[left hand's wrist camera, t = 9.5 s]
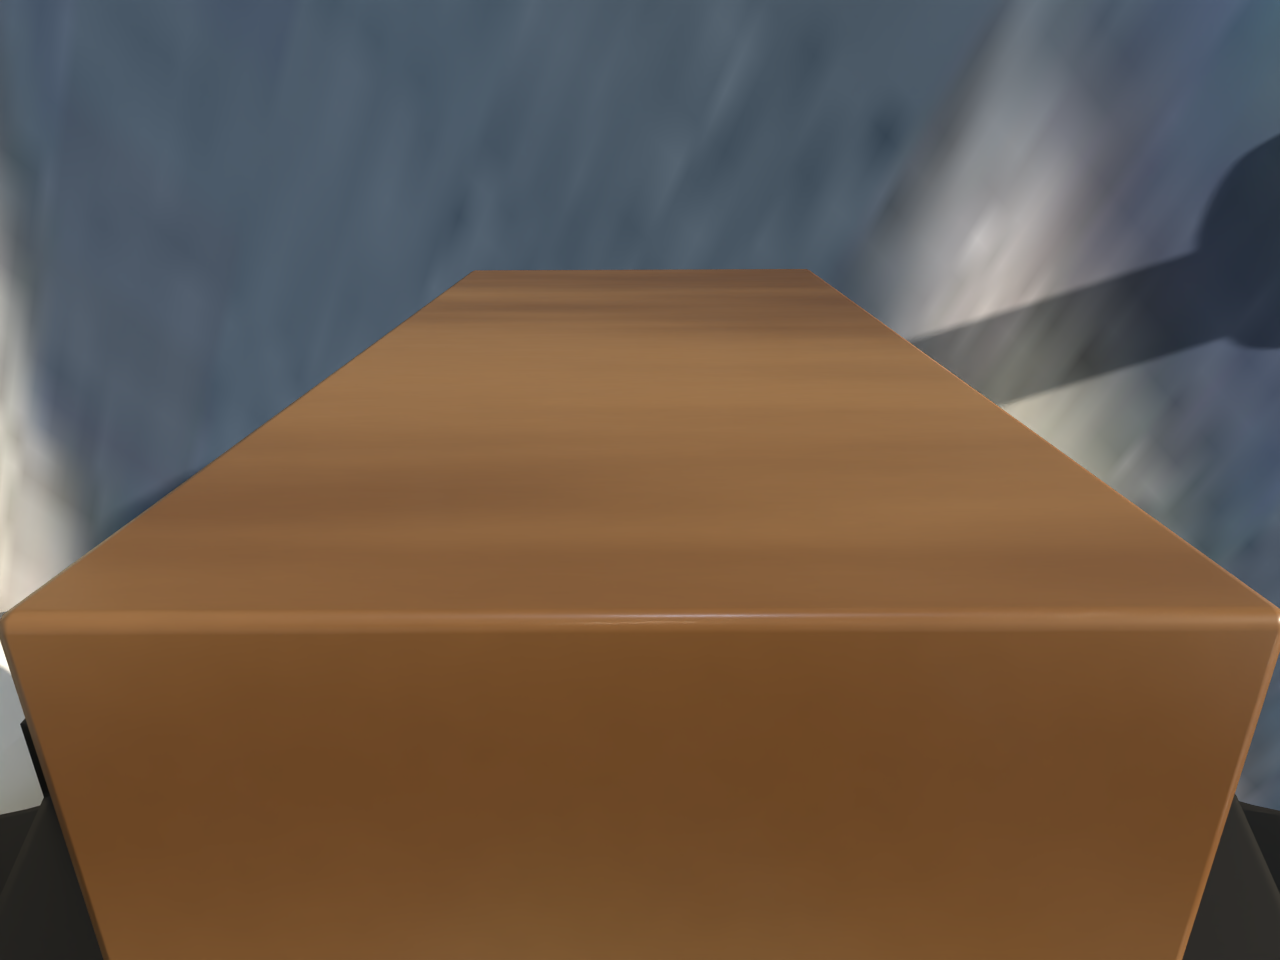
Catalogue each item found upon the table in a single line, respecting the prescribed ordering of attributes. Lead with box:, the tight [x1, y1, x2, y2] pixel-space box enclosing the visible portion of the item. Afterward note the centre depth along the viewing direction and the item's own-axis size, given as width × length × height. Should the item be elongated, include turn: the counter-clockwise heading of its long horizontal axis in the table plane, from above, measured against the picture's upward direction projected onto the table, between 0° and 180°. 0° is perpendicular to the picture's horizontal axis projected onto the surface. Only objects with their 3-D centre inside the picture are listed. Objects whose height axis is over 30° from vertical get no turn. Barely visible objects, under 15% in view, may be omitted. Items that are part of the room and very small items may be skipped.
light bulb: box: [0, 642, 44, 815], centre depth 29 cm, size 7×7×11 cm
